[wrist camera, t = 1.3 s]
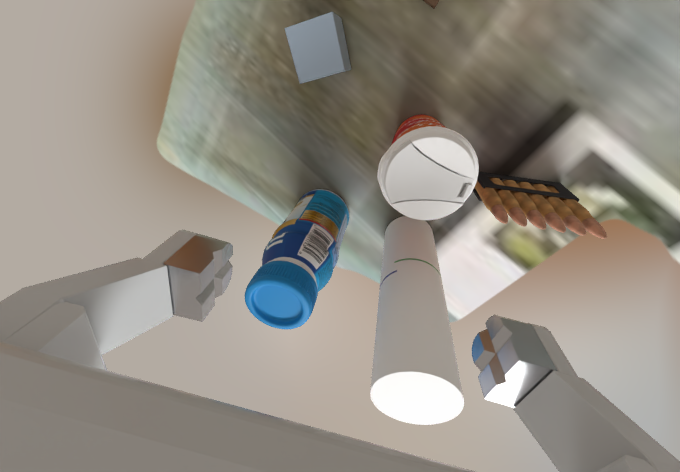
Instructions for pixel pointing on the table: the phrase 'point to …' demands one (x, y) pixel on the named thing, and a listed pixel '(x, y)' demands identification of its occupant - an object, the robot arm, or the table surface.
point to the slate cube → (318, 47)
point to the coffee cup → (427, 169)
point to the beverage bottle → (298, 261)
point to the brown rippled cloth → (432, 2)
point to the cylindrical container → (414, 331)
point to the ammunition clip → (535, 203)
